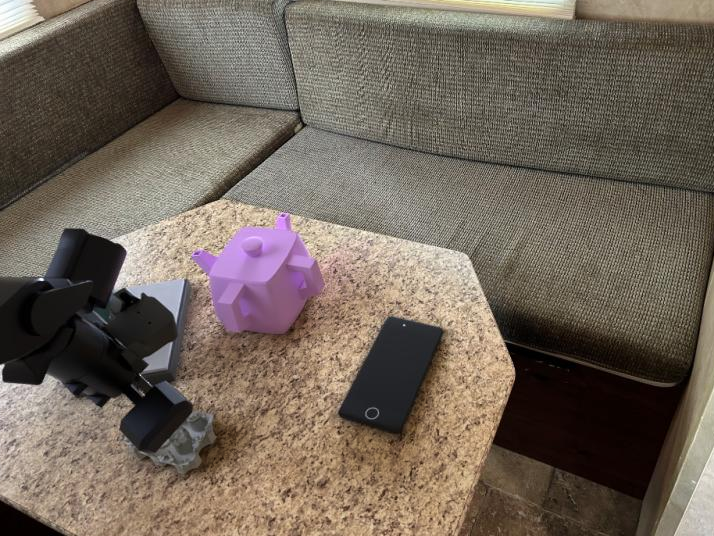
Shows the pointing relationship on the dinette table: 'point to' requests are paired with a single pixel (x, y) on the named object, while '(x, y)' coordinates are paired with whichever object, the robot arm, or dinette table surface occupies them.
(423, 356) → the cell phone
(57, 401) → the dinette table surface
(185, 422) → the egg carton
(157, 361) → the scale
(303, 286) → the teakettle
